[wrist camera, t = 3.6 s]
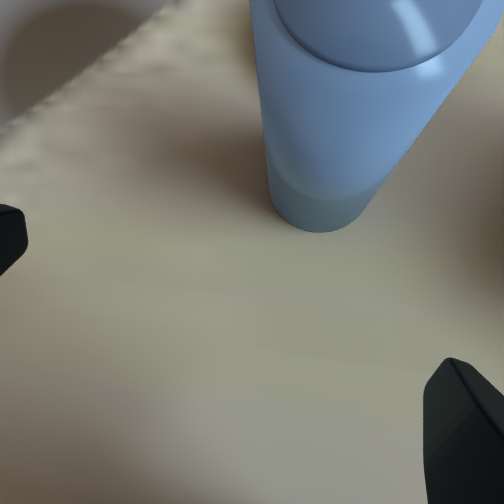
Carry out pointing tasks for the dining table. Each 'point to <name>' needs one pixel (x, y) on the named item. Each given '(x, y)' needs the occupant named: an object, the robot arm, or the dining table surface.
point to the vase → (354, 92)
